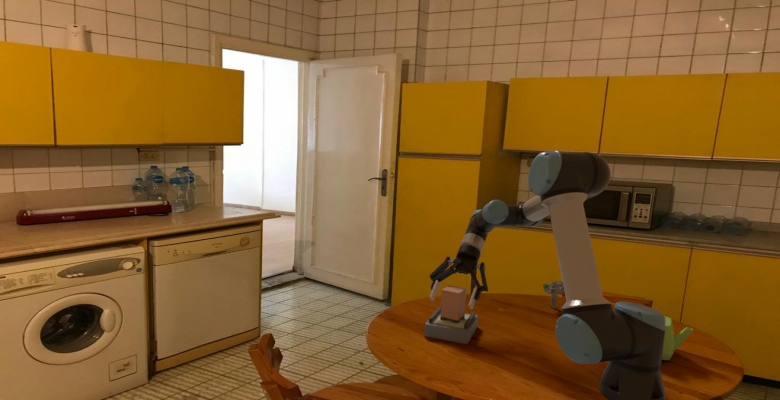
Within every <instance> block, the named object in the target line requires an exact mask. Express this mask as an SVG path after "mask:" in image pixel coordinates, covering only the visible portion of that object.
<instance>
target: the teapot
mask: <svg viewBox="0 0 780 400" xmlns="http://www.w3.org/2000/svg"><path fill="white" fill-rule="evenodd" d="M664 317H665V320H666V321H665V329H666V332H665V337H664V345H663V353H662V361H669V360H671V359H672V358H673V357H672V356H673V355H674V352H675V350H677V349H678V348H679V347H680V346H681V345H682V344H683V342H684V341H685V340H686V339H687V338H688V337H689V336H690V335H691V334H692V333H693V332H694V331H693V330H694V329H693V328H691V327H687V326H686V327H685V328H683V329H682V330H681V331H679V332H678V333H676V335H675V329H674V324H673V320H672V318H671V317H668V316H665V315H664Z"/></svg>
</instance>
